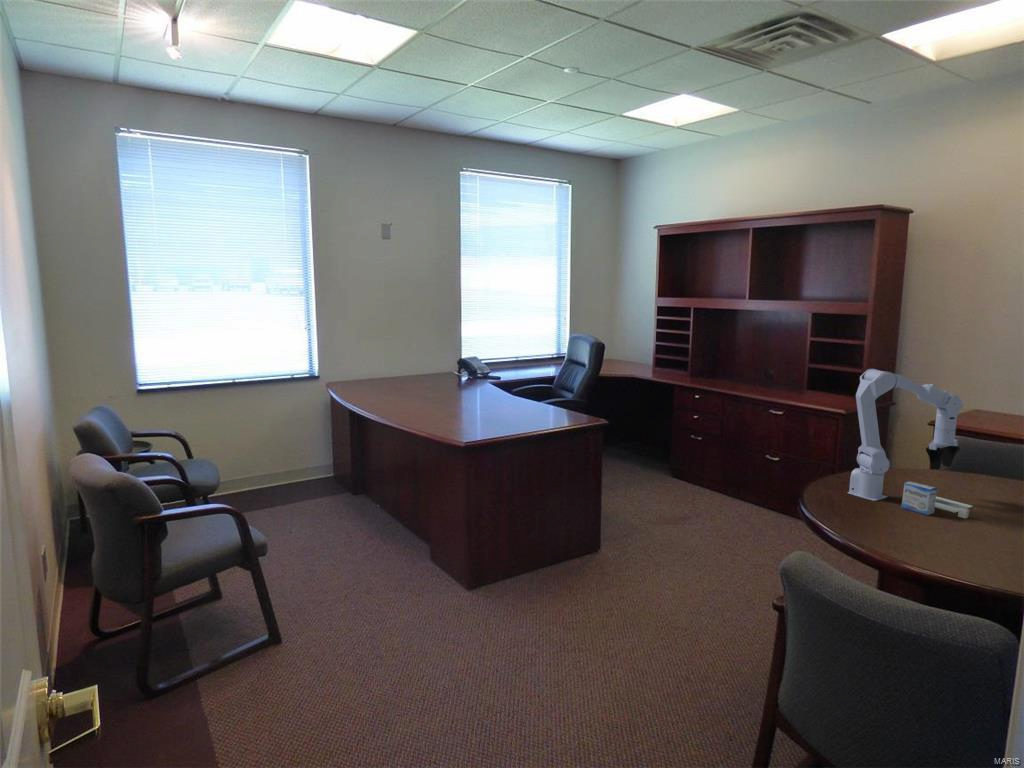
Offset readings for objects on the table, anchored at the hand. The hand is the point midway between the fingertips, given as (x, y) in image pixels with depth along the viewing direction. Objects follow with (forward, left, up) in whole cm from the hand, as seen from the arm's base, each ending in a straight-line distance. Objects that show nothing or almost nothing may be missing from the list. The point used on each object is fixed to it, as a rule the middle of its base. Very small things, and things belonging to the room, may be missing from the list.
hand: (940, 467), depth 207 cm
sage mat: (+4, -7, -10) cm, 13 cm away
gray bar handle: (+6, -15, -10) cm, 19 cm away
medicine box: (+4, -21, -11) cm, 24 cm away
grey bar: (+6, -15, -8) cm, 18 cm away
